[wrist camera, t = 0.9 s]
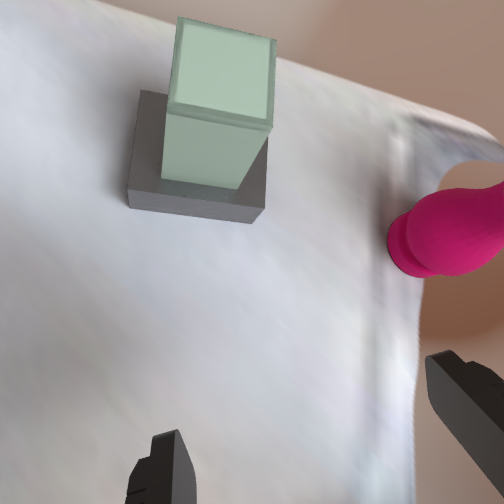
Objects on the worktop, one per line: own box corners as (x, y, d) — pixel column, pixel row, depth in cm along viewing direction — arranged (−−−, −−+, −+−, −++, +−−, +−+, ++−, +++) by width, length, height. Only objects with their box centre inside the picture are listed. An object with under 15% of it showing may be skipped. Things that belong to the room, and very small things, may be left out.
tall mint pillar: (161, 178, 29) (167, 107, 20) (169, 109, 30) (177, 16, 22) (237, 189, 30) (272, 127, 21) (241, 123, 31) (276, 39, 23)
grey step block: (129, 208, 32) (123, 164, 24) (141, 118, 34) (139, 52, 26) (251, 223, 34) (281, 188, 26) (256, 139, 36) (285, 83, 28)
